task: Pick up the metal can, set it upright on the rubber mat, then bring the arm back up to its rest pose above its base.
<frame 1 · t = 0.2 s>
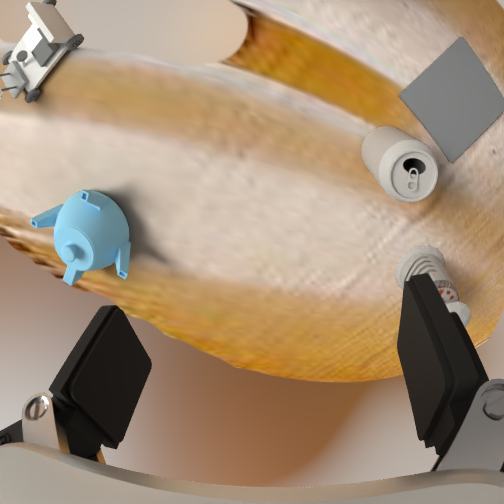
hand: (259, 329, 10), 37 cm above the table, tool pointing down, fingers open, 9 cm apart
can: (384, 150, 41), on the table
mat: (457, 99, 35), on the table
teapot: (100, 221, 52), on the table
french press: (416, 273, 51), on the table
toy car: (40, 54, 37), on the table
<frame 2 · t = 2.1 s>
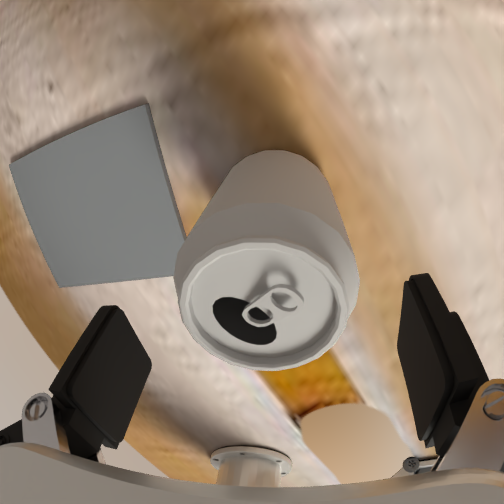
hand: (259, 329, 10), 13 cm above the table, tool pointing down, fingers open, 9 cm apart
can: (276, 200, 22), on the table
mat: (91, 210, 23), on the table
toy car: (430, 464, 43), on the table
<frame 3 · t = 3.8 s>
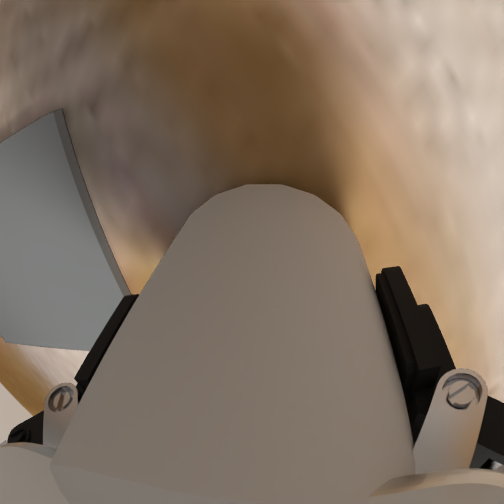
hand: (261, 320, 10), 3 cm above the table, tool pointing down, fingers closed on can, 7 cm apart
can: (268, 261, 13), on the table, touching gripper
mat: (17, 261, 15), on the table
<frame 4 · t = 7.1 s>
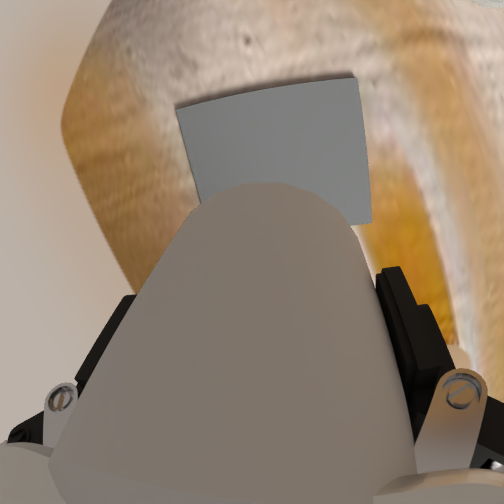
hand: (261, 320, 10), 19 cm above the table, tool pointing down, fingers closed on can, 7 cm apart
can: (268, 259, 13), point 15 cm above the table, touching gripper
mat: (279, 162, 27), on the table
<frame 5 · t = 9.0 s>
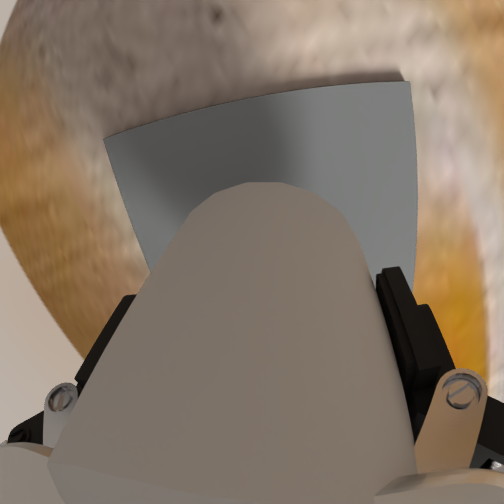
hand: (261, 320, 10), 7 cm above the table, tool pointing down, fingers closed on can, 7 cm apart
can: (268, 259, 13), point 4 cm above the table, touching gripper
mat: (273, 224, 17), on the table
when the fingers open (5 cm above the table, at t = 10.5 s): can drops 1 cm, resting on mat.
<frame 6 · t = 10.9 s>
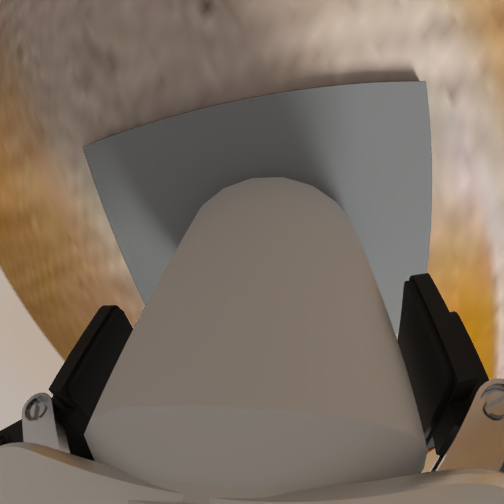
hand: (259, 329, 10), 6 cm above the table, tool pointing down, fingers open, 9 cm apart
can: (272, 249, 15), resting on mat
mat: (270, 240, 15), on the table
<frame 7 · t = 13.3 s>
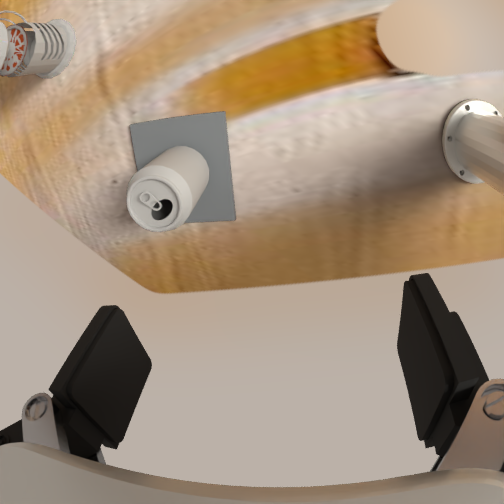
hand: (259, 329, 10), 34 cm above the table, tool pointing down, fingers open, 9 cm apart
can: (183, 171, 41), resting on mat
mat: (183, 170, 42), on the table
french press: (50, 44, 32), on the table
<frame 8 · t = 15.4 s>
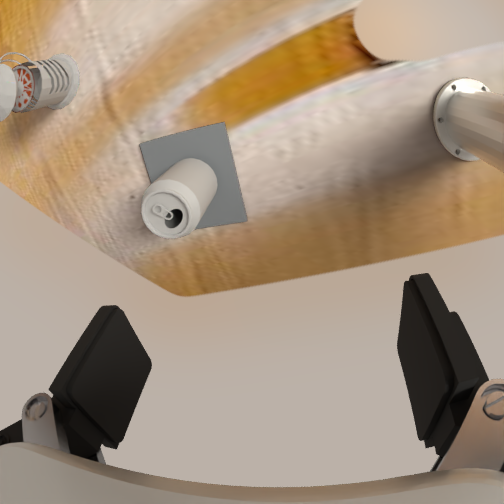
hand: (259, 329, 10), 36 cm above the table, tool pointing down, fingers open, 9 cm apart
can: (194, 180, 45), resting on mat
mat: (193, 180, 46), on the table
french press: (56, 77, 38), on the table
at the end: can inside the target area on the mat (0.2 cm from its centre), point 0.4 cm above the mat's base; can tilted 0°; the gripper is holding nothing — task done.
